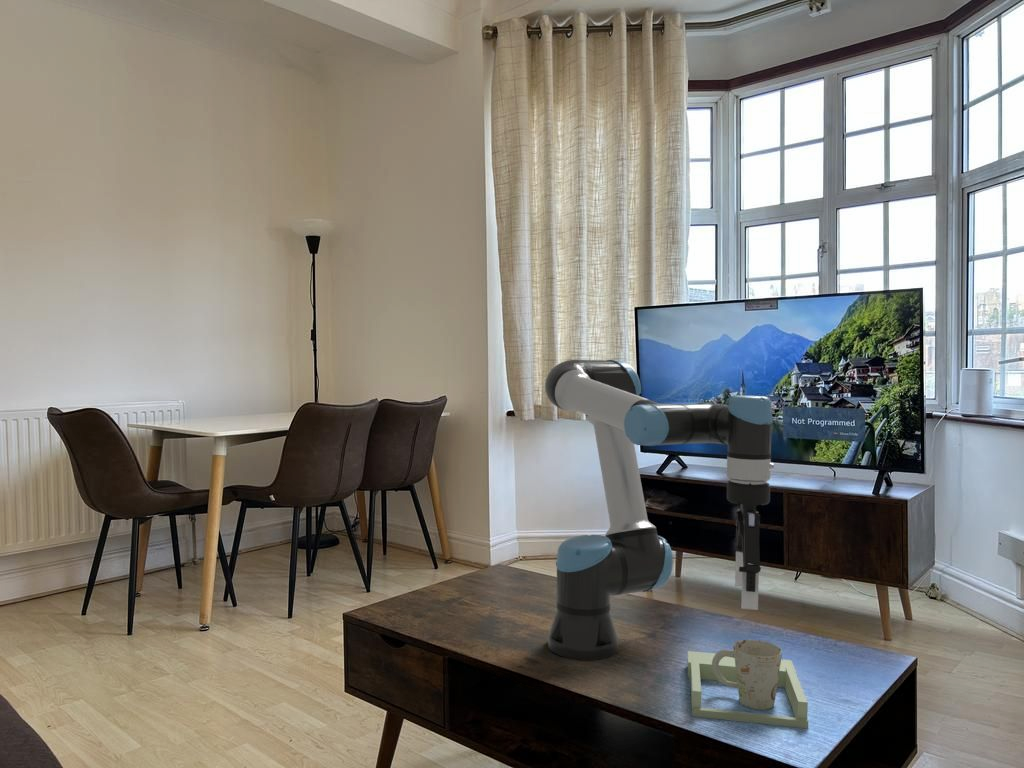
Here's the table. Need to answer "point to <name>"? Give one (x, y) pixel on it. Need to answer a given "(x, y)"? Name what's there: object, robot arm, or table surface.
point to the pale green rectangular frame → (702, 669)
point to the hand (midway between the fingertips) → (745, 597)
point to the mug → (753, 672)
